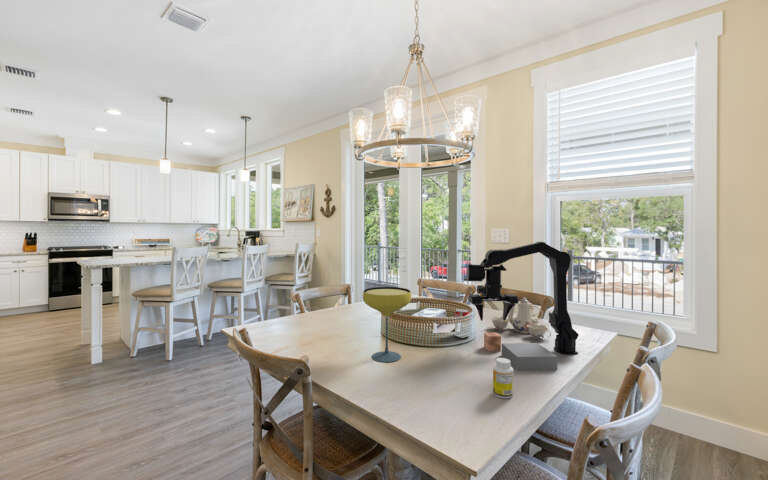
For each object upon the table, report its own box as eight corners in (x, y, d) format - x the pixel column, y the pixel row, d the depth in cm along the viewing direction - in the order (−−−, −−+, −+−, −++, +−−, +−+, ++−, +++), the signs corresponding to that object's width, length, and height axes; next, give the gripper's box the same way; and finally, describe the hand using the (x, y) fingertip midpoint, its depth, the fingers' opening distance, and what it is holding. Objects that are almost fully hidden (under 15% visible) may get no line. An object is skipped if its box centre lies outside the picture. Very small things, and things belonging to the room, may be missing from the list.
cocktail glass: (362, 367, 121) (362, 295, 120) (362, 349, 139) (362, 286, 138) (414, 366, 122) (414, 295, 121) (407, 348, 140) (407, 286, 139)
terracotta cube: (495, 346, 142) (496, 332, 142) (500, 351, 137) (501, 336, 137) (484, 347, 142) (484, 332, 142) (488, 351, 137) (488, 336, 137)
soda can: (470, 339, 151) (470, 312, 150) (453, 338, 152) (453, 311, 152) (469, 334, 158) (469, 308, 157) (453, 333, 159) (453, 308, 159)
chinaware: (485, 333, 166) (484, 299, 164) (499, 322, 178) (498, 291, 176) (548, 346, 148) (547, 308, 146) (558, 333, 160) (558, 298, 158)
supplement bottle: (497, 388, 105) (497, 355, 105) (515, 394, 101) (516, 359, 101) (489, 395, 101) (490, 360, 100) (508, 401, 97) (509, 365, 97)
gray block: (537, 355, 133) (537, 342, 133) (557, 370, 119) (557, 356, 119) (501, 356, 133) (501, 343, 132) (517, 371, 119) (517, 356, 118)
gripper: (507, 278, 147) (507, 315, 148) (464, 278, 146) (464, 315, 147) (519, 282, 136) (519, 322, 136) (472, 282, 135) (472, 322, 135)
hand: (492, 320), depth 139 cm, fingers open, 9 cm apart
